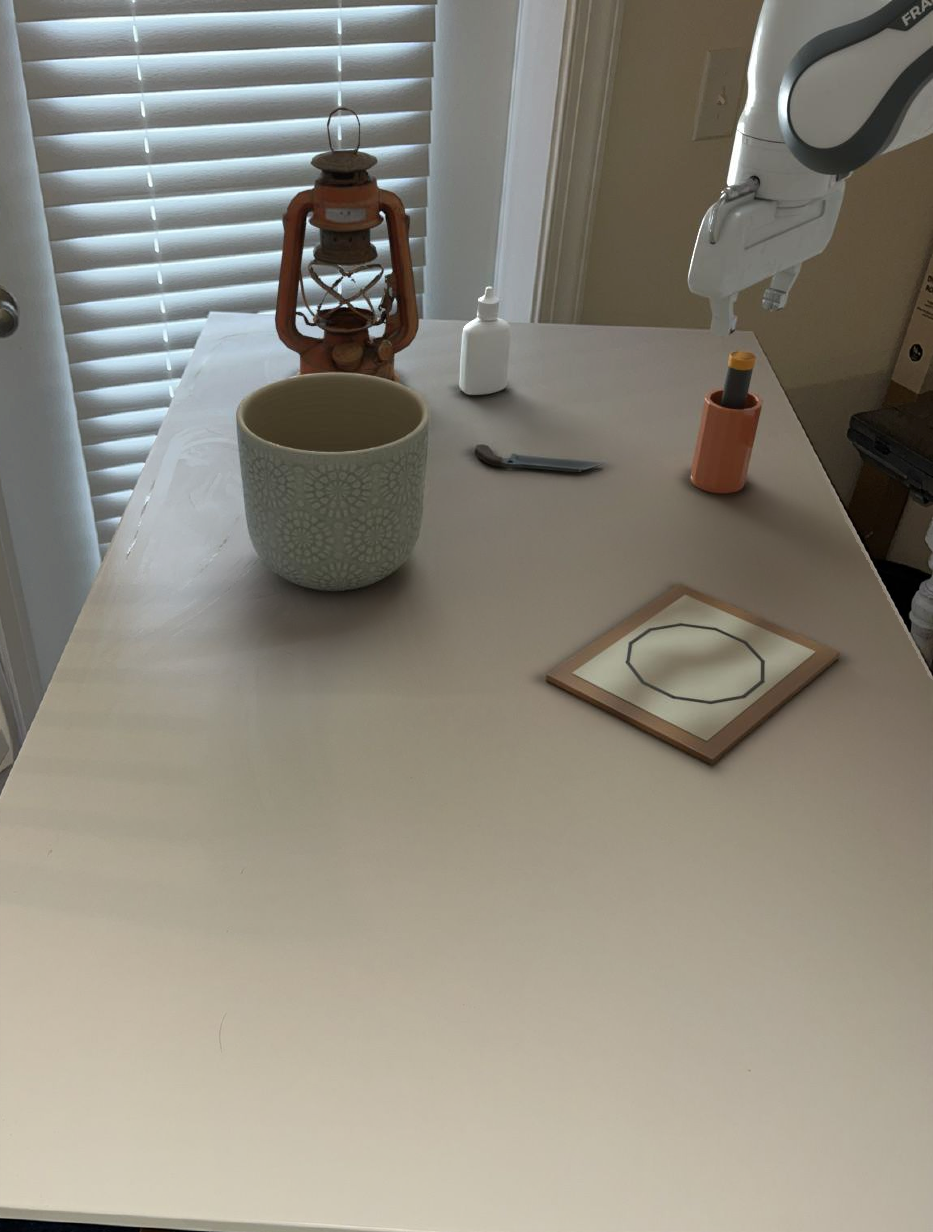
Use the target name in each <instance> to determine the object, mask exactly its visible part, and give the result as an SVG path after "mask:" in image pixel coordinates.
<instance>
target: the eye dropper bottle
mask: <svg viewBox="0 0 933 1232" xmlns="http://www.w3.org/2000/svg"><path fill="white" fill-rule="evenodd" d="M494 295H495V294H494V288H493V286H486V288H485V290H484V295H483V296H481V297H479V298H478V299H477V310H476V311H477V312H476V318H475V319H473V320H471V321H470V322H468V323H467V324H466V325H465V326H464V327H463V328H462V334H461V346H460V347H461V349H460V361H459V367H460V368H459V383H458V385H459V389H460V390H461V391H462V392H463V393H464V394H466V395H468V396H482V395H489V394H493V393H496V392H500V391H502V390H504V389H505V388H506V387H507V382H508V373H509V372H508V371H509V360H510V359H509V357H510V348H511V347H510V346H511V345H510V344H511V325H510V324H509V322H507V321H506V320H504V319H503V318H500V317H499V311H500V310H499V308H500V299H499V298H498V297H496V296H494Z"/></svg>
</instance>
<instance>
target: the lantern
mask: <svg viewBox="0 0 933 1232" xmlns="http://www.w3.org/2000/svg"><path fill="white" fill-rule="evenodd" d="M338 111H348V112H351V114H353V115H354V116H355V118H356V121H357V123H358V141H357V146H356V148H354V149H339V150H334V148H333V146H332V140H331V133H330V125H331V124H330V122H331V119H332V116H333V115H334V114H335V113H337V112H338ZM326 127H327V128H326V129H327V137H328V144H329V145H328V146H329V148H330V151H324V152H321V153H318V154H316V155H314V156H313V157H312V158H311V161H310V165H311V166H312V167H314V168H316V169H317V170H320V171H321V172H320V174H319V175H318V176H317V177H316V178H314V180H313V181H314V182H313V187H312V188H309V189H305V190H302V191H299V192H297V194H295V195H294V197H293V198H292V199H291V200H290V202H289V204H288V206H287V207H286V212H284V213H282V215H281V216H282V218H281V223H282V227H283V239H282V240H283V241H282V249H281V250H282V252H281V260H280V269H279V275H278V276H279V277H278V286H277V294H276V306H275V314H274V323H275V330H276V333H277V336H278V339H279V340H280V342H281V343H282V344H283V345H284V346H285V347H286V348H287V349H289V350H290V351H293V352H295V353H297V355H299V370H298V372H297V373H296V375H295V376H299V375H306V374H315V373H354V374H363V375H370V376H375V377H380V378H384V379H388V380H391V381H394V382H397V383H399V384H401V379H400V377H399V375H398V372H397V370H396V369H395V356H396V355H395V354H398V353H400V352H402V351H403V350H405V349H406V348H408V347H409V346H411V344H412V342H413V341H414V340H415V339H416V336H417V334H418V331H419V324H420V317H419V312H418V304H417V295H416V286H415V276H414V268H413V261H412V254H411V253H412V252H411V247H410V229H411V228H410V227H411V216H410V215H409V214H408V213H406V208H405V206H404V204H403V201H402V199H401V198H400V197H399V196H398V195H397V194H396V192H392V191H390V190H387V189H383V188H380V187H379V186H378V179H377V177H375V176H374V175H372V174H369V172H368V171H367V170H370V169H371V168H373V167H374V166H376V165H377V164H378V158H377V156H375V155H373V154H370V153H367V152H364V151H359V150H360V147H361V123H360V119H359V116H358V115H357V113H356V112H355V111H353V110H352V109H351V108H347V107H344V106H343V107H341V106H340V107H337V108H335V109H333V110H332V111H331V112H330V113H329V116H328V118H327V122H326ZM311 212H312V213H311ZM381 212H382V213H383V215H384V216H383V215H382V214H380V213H381ZM309 213H311V214H312V215H311V216H310V217H309V218H308V214H309ZM307 218H308V219H307ZM384 220H385V223H386V228H387V236H388V245H389V255H390V261H391V273H388V274H385V275H384V272H385V269H384V266H383V265H382V264H380V263H371V262H373V261H375V260H376V259H377V258H378V256H379V254H378V250H377V247H376V246H375V244H373V243H372V242H371V229H374V228H376V227H378V226H380V225H382V223H384ZM307 223H309V225H311V226H313V227H314V228H318V230H319V242H318V243H316V244H315V245H314V246H313V250H312V255H313V258H314V259H312V260H311V261H310V262H309V263H308V265H307V270H308V273H309V275H310V279H312V280H313V281H314V282H315V283H316V284H317V285H318V286H319V287H321V288H322V290H324V291H325V295H324V297H323V299H322V300H321V302H320V303H319V304H318V305H317V306H316V308H317V309H315V310H316V312H315V313H314V312H313V311H312V309H311V307H310V306H309V304H308V302H307V301H308V300H307V299H306V298H307V297H306V294H305V286H304V281H303V280H304V279H303V272H302V263H303V256H304V255H303V254H304V246H305V240H306V239H305V237H306V231H307ZM369 263H371V264H369ZM365 264H366V265H365ZM313 266H324V267H332V268H336V270H338V272H339V273H340V274H341V276H340V277H338V279H335V281H334V282H333V283H332V284H331V286H329V285H327V284H326V283H325V282H324V281H323V280H322V278H321V277H319V275H318V274H317V273H316V271H314V268H313ZM342 266H344V267H352V266H353V267H354V266H359V267H356V268H354V269H353V270H348V272H345V270H344V269H343V268H342ZM372 268H373V269H374V268H380V269H381V271H380V272H379V273H378V274H377V275H375V277H374V278H373V279H372V280H371V281H370V282H369V283H368V284H367V285H366V286H364V288H360V289H359V291H358V292H357V293H356V294H355V295H353V296H351V297H349V298H345V297H343V295H342V294H340V293H339V292H337V290H334V289H335V288H336V287H337V286H339V284H340V283H341V282H342V281H343V279H344V278H346V277H347V278H348V279H349V278H351V279H350V281H351V282H353V283H354V284H356V280H355V279H354V278H353V277H352V275H354V274H357V273H359V272H360V271H364V270H368V269H370V270H371V269H372ZM383 275H384V288H383V294H382V297H381V300H380V303H379V305H378V307H377V310H378V311H379V313H381V314H380V317H379V318H378V315H377V314H376V311H375V308H374V306H373V304H372V301H371V298H370V297H369V296H368V295H367V294H366V292H368V291H369V290H370V289H372V288H373V287H374V286H375V285H376V284H377V283H378V282H379V281H380V280H381V279H382V277H383ZM385 285H386V286H385ZM299 288H300V291H301V296H302V300H303V303H304V306H305V308H306V309H307V311H308V312H309V314H311V316H312V322H310V321H309V318H308V317H307V316H306V314H305V313H303V312H301V311H297V307H298V295H299ZM390 288H391V294H390ZM328 294H329V295H331V297H333V298H335V299H336V300H337V301H338V302H339V303H338V305H337V306H336V307H331V308H324V309H322V305H323V303H324V300H325V298H326V296H327V295H328ZM361 296H362V297H363V298H364V299H365V301H366V303H367V305H368V307H369V308H370V309H368V308H362V307H357V306H354V305H353V304H352V303H351V302H353V301H355V300H356V299H358V298H360V297H361ZM394 301H395V302H396V311H395V312H394V313H393V314H390V313H391V312H392V310H393V305H394ZM344 305H346V306H344ZM383 309H384V310H383ZM297 316H298V317H299V316H300V317H302V318H303V321H304V324H305V326H309V327H317V328H319V329H321V330H323V335H322V336H320V337H315V336H314V337H313V336H311V335H305V334H303V333H302V332H300V331H299V330H298V328H297ZM383 324H384V325H385V327H384V331H383V334H382V336H377V337H375V336H373V335H371V334H370V330H369V329H370V328H372V327H378V326H380V325H383Z"/></svg>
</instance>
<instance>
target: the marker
mask: <svg viewBox="0 0 933 1232" xmlns="http://www.w3.org/2000/svg"><path fill="white" fill-rule="evenodd" d="M728 356H729V357H728V362H727V370H726V375H725V380H724V385H723V388H724V389H723V394H722V399H721V404H720V406H721V407H725V408H730V409H745V404H746V399H747V395H748V391H749V389H750V385H751V381H752V380H751V379H752V375H753V370H754V368H755V364H756V360H757V359H756V358H757V356H756V354H754V353H752V352H750V351H747V350H735V351H731V352H730V354H729V355H728Z"/></svg>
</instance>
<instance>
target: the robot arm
mask: <svg viewBox="0 0 933 1232" xmlns="http://www.w3.org/2000/svg"><path fill="white" fill-rule="evenodd" d="M746 77H747V96H746V101H745V105H744V108H743V110H742V113H741V114H740V116H739V119H738V122H737V124H736V129H735V130H736V131H735V137H734V142H733V147H732V152H731V157H730V162H729V167H728V174H727V178H726V184H727V186H726V187H725V188H724V189H722V191H721V195H720V196H719V198H718V200H717V201H716V202H715V203H713V204H712V205H711V206H710V207H709V208H708V209H707V211H706V212H705V214H704V217H703V219H702V221H701V224H700V226H699V230H698V233H697V238H696V240H695V241H696V242H695V245H694V249H693V253H692V257H691V262H690V266H689V270H688V276H687V284H688V285H687V286H688V289H689V291H690V292H691V293H692V294H695V295H697V296H700V297H704V298H707V299H708V303H709V306H710V310H711V315H712V318H711V324H710V329H709V330H710V333H711V335H712V336H715V337H718V338H721V339H724V338H726V337H729V336H730V335H733V334H734V333H735V332H736V325H737V322H738V318H739V317H738V315H736V314H734V303H735V302H737V300H738V296H739V292H741V291H743V290H745V289H748V288H750V287H752V286H754V285H756V284H759V283H760V282H762V281H765V280H767V279H769V278H771V277H772V279H771V282H770V285H769V288H767V289H765V290H764V293H763V299H762V303H761V306H762V308H763V309H764V310H766V311H770V312H773V313H776V312H778V311H780V310H782V309H784V308H785V307H786V306H787V301H788V297H789V292H790V291H791V289H792V288H793V285H794V284H795V281H796V280H797V278H798V277H799V274H800V272H801V269H802V265H803V262H805V261H808V260H810V259H811V258H813V257H815V256H818V255H820V254H822V253H823V252H824V251H825V249H826V248H827V246H828V245H829V243H830V241H831V239H832V237H833V234H834V232H835V231H834V230H835V227H836V226H837V225H836V224H837V222H838V218H839V215H840V211H841V207H842V205H843V204H842V203H843V201H844V200H843V199H844V196H845V191H846V180H847V179H849V178H850V177H851V176H852V175H853V173H854V171H856V170H858V169H859V168H862V167H863V166H865V165H866V164H868V163H870V162H872V161H873V160H875V159H877V158H878V157H881V156H883V155H885V154H887V153H890V152H892V151H895V150H898V149H901V148H902V147H905V146H907V145H909V144H912V143H915V142H916V141H919V140H921V139H924V138H925V137H928V136H929V135H931V134H933V0H763V3H762V7H761V10H760V13H759V17H758V20H757V24H756V29H755V33H754V38H753V42H752V46H751V51H750V56H749V61H748V66H747V76H746Z"/></svg>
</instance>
